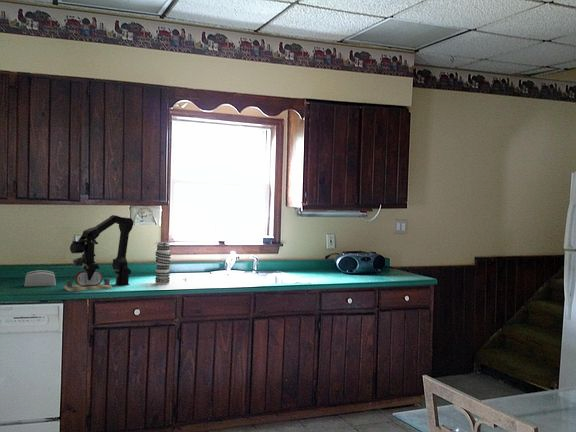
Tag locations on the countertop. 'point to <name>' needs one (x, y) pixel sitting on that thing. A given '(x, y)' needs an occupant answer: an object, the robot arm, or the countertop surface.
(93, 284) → the tin
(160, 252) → the decorative candle
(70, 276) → the countertop surface
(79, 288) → the tan long piece
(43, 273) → the grey arched block
